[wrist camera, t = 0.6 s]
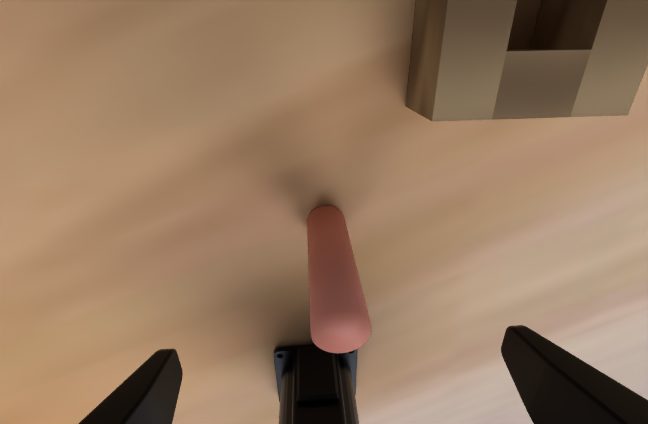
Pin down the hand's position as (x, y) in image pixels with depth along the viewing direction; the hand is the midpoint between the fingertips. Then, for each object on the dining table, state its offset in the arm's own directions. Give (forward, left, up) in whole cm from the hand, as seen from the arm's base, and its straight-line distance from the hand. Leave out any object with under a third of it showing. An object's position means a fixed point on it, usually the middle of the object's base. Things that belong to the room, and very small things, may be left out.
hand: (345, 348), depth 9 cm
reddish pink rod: (-3, 0, -12) cm, 12 cm away
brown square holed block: (+9, -9, -12) cm, 18 cm away
